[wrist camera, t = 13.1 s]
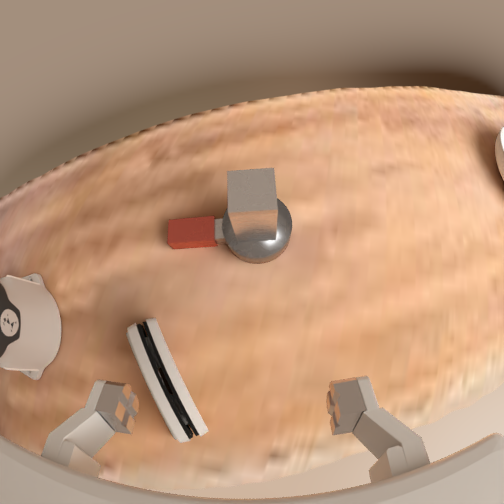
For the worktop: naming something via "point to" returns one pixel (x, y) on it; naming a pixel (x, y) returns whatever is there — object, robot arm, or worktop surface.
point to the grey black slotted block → (149, 361)
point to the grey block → (253, 204)
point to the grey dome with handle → (230, 236)
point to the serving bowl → (500, 151)
